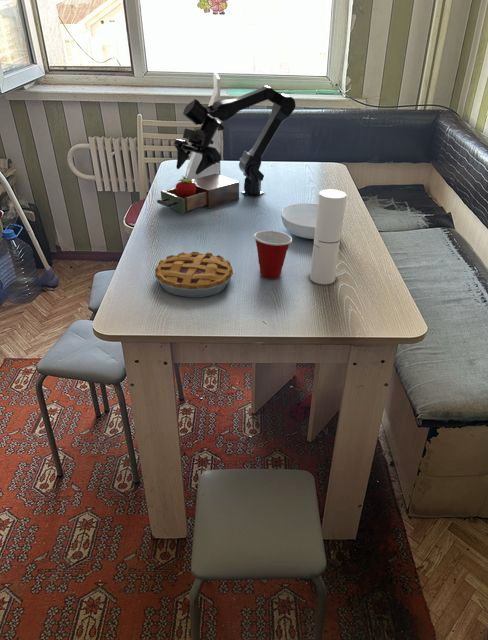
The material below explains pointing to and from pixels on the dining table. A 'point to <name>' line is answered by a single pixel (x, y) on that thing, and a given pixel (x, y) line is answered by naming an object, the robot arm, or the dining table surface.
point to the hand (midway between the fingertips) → (186, 171)
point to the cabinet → (218, 189)
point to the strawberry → (186, 188)
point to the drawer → (183, 200)
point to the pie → (194, 274)
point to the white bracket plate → (197, 157)
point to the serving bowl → (300, 219)
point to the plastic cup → (271, 252)
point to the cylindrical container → (327, 235)
